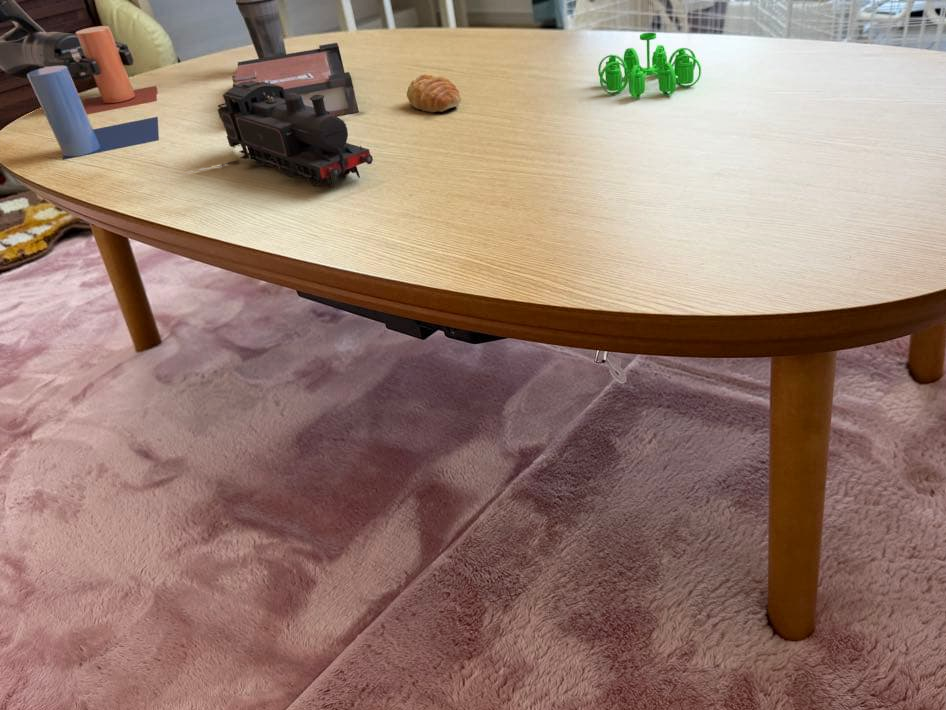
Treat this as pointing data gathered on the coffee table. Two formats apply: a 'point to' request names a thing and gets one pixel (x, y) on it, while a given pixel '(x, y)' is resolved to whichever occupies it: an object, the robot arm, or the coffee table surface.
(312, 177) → the toy train
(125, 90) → the tall orange cylinder
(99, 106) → the terracotta mat
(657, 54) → the chandelier
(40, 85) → the tall blue cylinder
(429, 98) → the pastry
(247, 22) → the beverage cup
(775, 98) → the coffee table surface
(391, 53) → the coffee table surface
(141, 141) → the blue mat
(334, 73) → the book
